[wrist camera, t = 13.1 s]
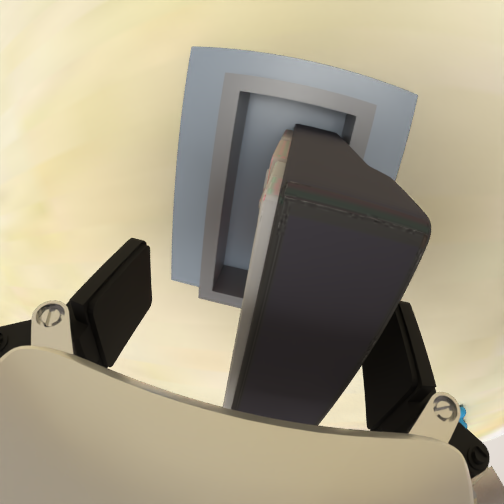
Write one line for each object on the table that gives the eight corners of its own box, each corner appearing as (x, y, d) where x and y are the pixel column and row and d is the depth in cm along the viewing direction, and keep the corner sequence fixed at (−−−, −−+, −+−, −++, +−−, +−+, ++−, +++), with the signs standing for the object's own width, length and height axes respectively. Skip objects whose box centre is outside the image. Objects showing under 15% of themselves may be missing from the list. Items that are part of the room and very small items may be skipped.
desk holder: (414, 95, 16) (439, 96, 13) (340, 312, 27) (343, 347, 23) (195, 47, 17) (170, 38, 13) (174, 275, 27) (155, 304, 24)
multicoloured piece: (284, 120, 18) (242, 174, 6) (345, 134, 18) (438, 224, 5) (257, 257, 24) (208, 428, 11) (309, 268, 24) (302, 445, 11)
